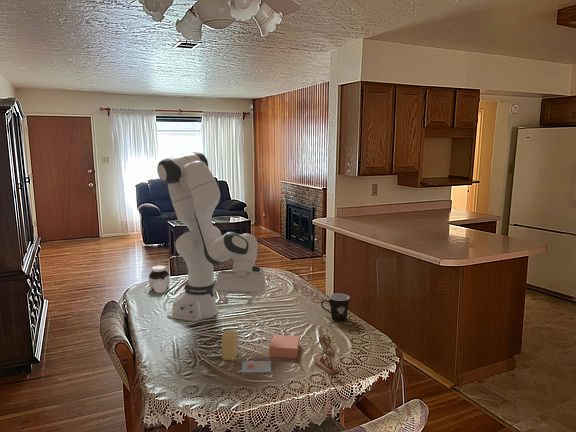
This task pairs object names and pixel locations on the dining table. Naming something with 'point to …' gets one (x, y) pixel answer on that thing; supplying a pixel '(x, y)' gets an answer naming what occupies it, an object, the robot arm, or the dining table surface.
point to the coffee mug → (338, 306)
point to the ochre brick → (229, 345)
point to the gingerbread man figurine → (322, 362)
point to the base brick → (284, 346)
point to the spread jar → (159, 279)
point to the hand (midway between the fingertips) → (237, 303)
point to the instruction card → (256, 366)
